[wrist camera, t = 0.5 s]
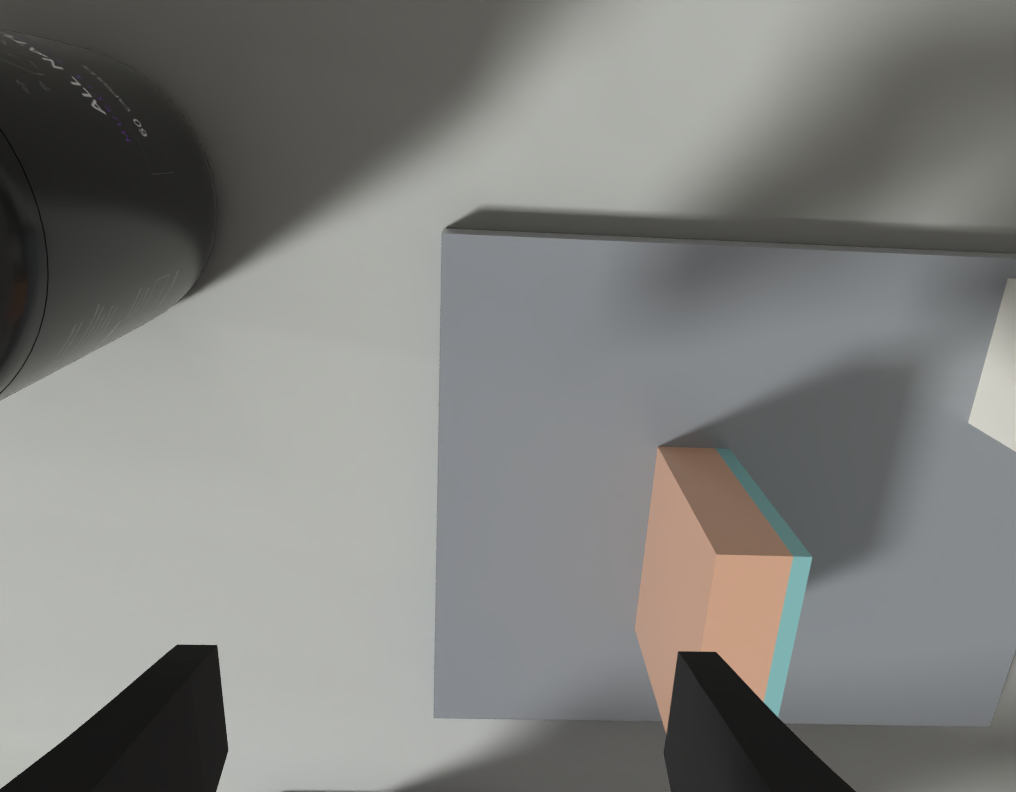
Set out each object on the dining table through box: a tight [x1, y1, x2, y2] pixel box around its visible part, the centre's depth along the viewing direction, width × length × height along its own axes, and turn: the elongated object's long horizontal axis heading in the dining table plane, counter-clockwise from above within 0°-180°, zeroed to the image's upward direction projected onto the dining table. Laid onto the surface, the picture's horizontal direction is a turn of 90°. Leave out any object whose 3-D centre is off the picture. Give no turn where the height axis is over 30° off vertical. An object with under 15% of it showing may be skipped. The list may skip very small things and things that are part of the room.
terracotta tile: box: [635, 446, 812, 734], centre depth 19 cm, size 6×2×6 cm, turn 177°
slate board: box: [434, 228, 1016, 727], centre depth 22 cm, size 15×18×1 cm
